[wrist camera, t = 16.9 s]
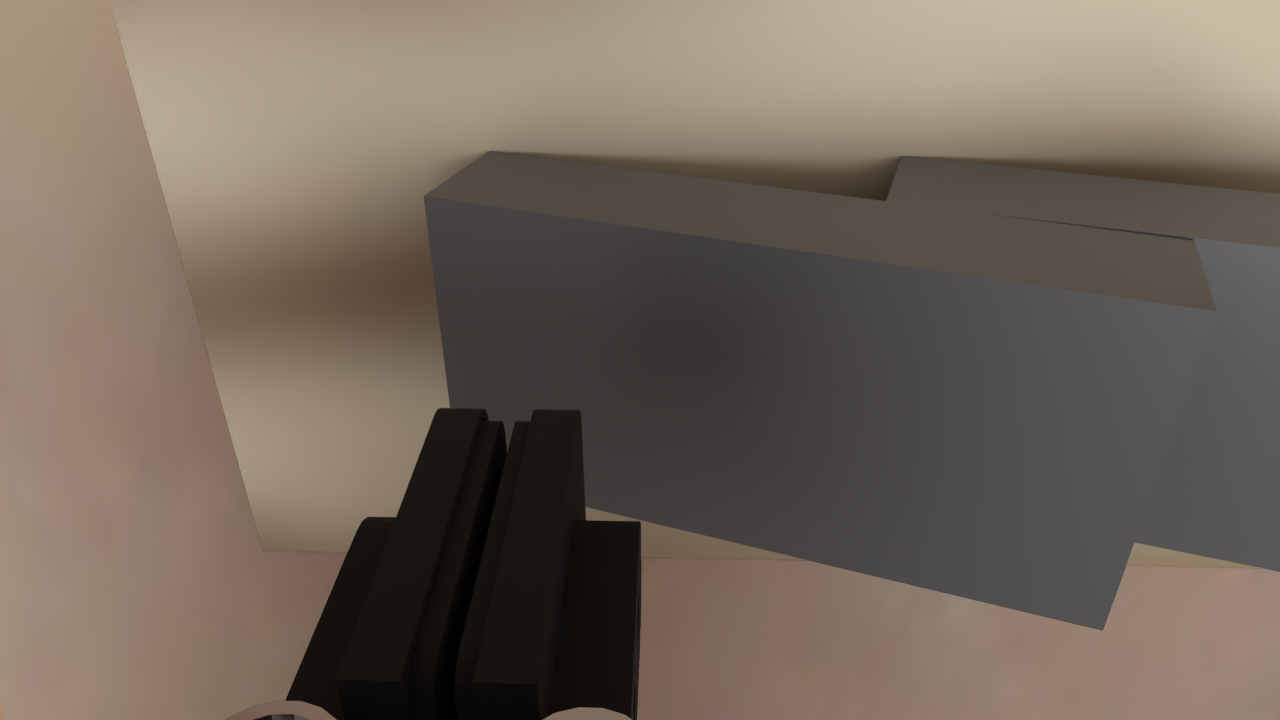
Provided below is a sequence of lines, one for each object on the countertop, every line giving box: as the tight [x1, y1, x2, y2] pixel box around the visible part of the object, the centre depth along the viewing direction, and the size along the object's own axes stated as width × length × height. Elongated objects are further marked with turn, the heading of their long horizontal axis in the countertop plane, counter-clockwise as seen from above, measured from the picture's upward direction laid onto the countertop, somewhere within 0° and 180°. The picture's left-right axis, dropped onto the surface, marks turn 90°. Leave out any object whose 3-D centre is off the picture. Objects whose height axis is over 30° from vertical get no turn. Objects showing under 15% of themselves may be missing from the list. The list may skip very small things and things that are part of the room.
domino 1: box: [424, 151, 1217, 630], centre depth 14 cm, size 5×2×10 cm
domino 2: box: [886, 156, 1280, 572], centre depth 14 cm, size 5×2×10 cm
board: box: [109, 0, 1280, 569], centre depth 16 cm, size 12×34×1 cm, turn 90°
